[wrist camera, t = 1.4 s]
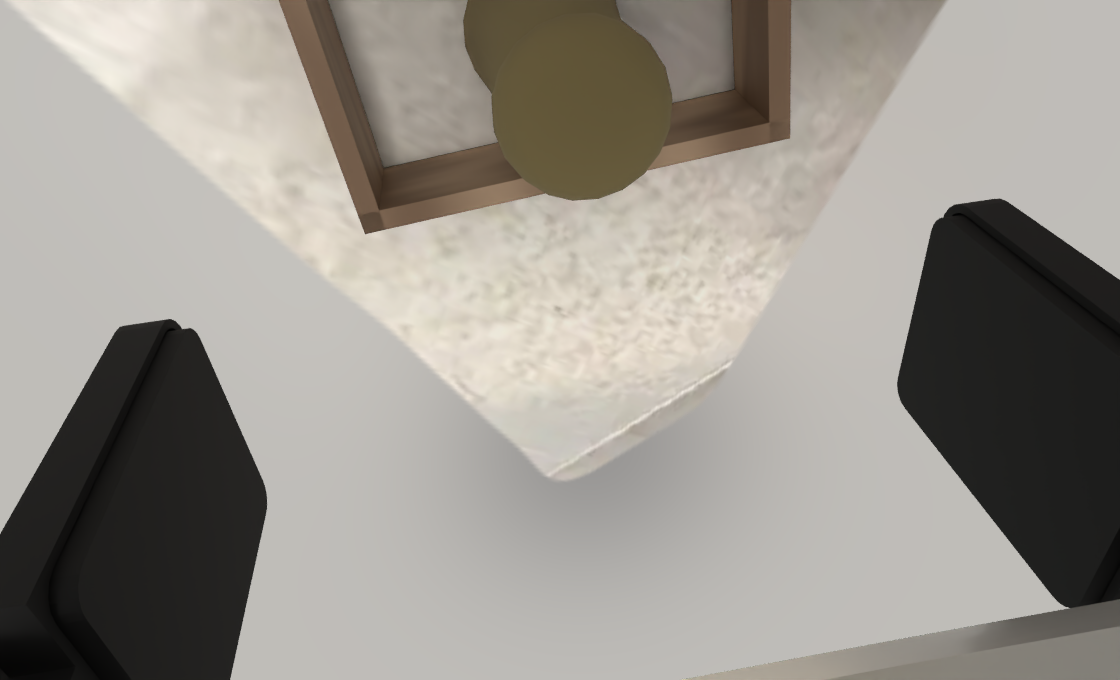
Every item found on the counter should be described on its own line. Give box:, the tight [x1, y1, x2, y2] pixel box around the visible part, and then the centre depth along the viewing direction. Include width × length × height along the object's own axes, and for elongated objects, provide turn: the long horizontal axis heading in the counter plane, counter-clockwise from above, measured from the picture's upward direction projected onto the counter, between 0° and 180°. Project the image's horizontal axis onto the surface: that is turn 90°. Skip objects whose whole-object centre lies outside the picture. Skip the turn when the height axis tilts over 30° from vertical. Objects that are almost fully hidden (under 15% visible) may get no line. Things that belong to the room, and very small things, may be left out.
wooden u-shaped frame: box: [279, 0, 791, 234], centre depth 28 cm, size 17×10×4 cm, turn 100°
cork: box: [463, 0, 672, 200], centre depth 25 cm, size 6×6×11 cm
